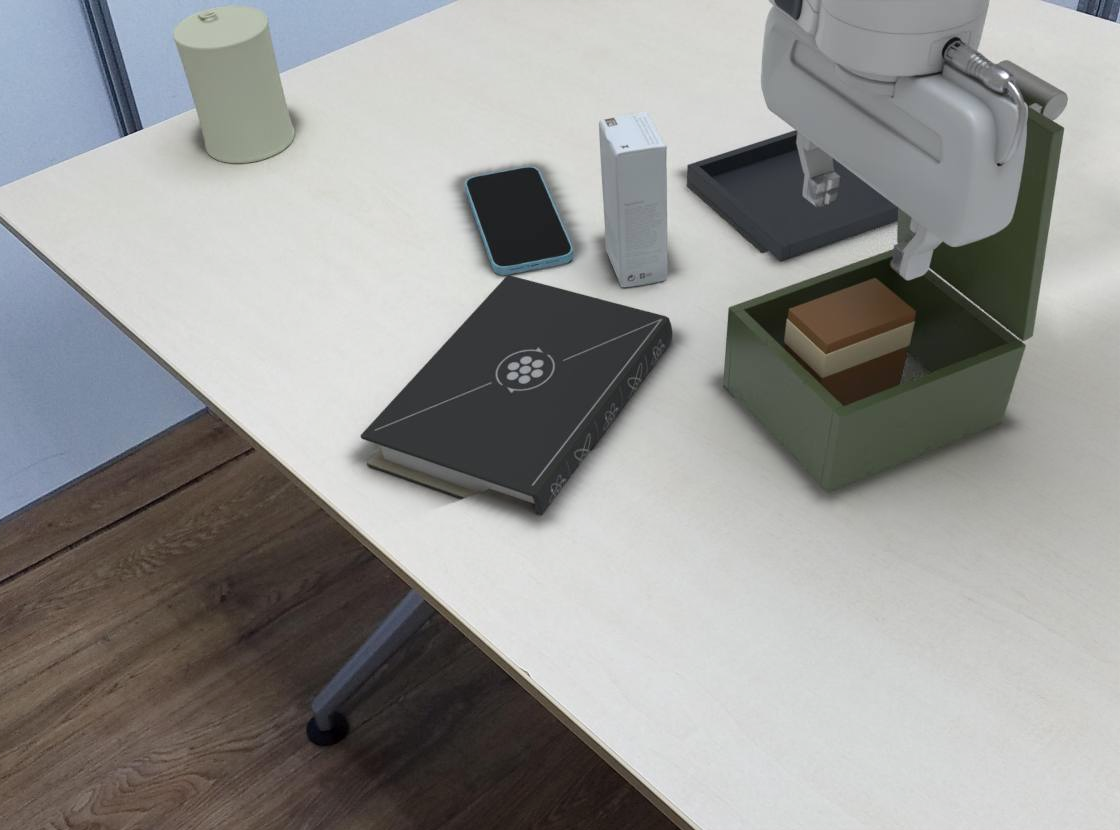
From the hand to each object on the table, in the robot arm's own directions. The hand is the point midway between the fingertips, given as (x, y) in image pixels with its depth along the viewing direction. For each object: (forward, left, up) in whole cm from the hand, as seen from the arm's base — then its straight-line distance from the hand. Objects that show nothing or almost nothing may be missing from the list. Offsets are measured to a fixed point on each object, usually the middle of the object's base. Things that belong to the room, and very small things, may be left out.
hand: (861, 235), depth 74 cm
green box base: (-2, 0, -16) cm, 16 cm away
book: (+19, -13, -16) cm, 28 cm away
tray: (-17, -26, -16) cm, 35 cm away
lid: (-8, 0, 0) cm, 8 cm away
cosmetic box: (+3, -25, -16) cm, 30 cm away
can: (+26, -65, -16) cm, 72 cm away
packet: (0, 0, -15) cm, 15 cm away
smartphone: (+9, -36, -16) cm, 40 cm away
